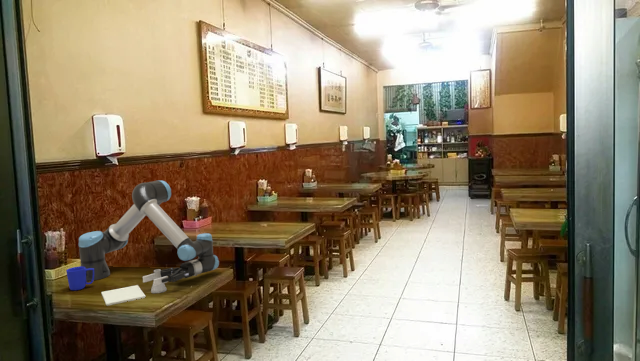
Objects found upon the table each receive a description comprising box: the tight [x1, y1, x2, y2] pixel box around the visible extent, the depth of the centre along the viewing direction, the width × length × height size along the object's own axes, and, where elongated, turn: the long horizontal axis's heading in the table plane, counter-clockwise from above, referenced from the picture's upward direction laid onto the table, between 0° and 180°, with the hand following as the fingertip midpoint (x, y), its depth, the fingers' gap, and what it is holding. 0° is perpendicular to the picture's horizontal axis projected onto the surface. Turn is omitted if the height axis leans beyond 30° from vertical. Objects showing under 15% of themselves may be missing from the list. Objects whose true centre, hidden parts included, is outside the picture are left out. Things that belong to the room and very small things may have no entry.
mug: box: [66, 266, 95, 291], centre depth 224 cm, size 8×12×10 cm
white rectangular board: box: [101, 284, 146, 307], centre depth 209 cm, size 20×16×1 cm
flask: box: [150, 268, 168, 294], centre depth 213 cm, size 7×7×10 cm
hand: (148, 281), depth 210 cm, fingers open, 9 cm apart
